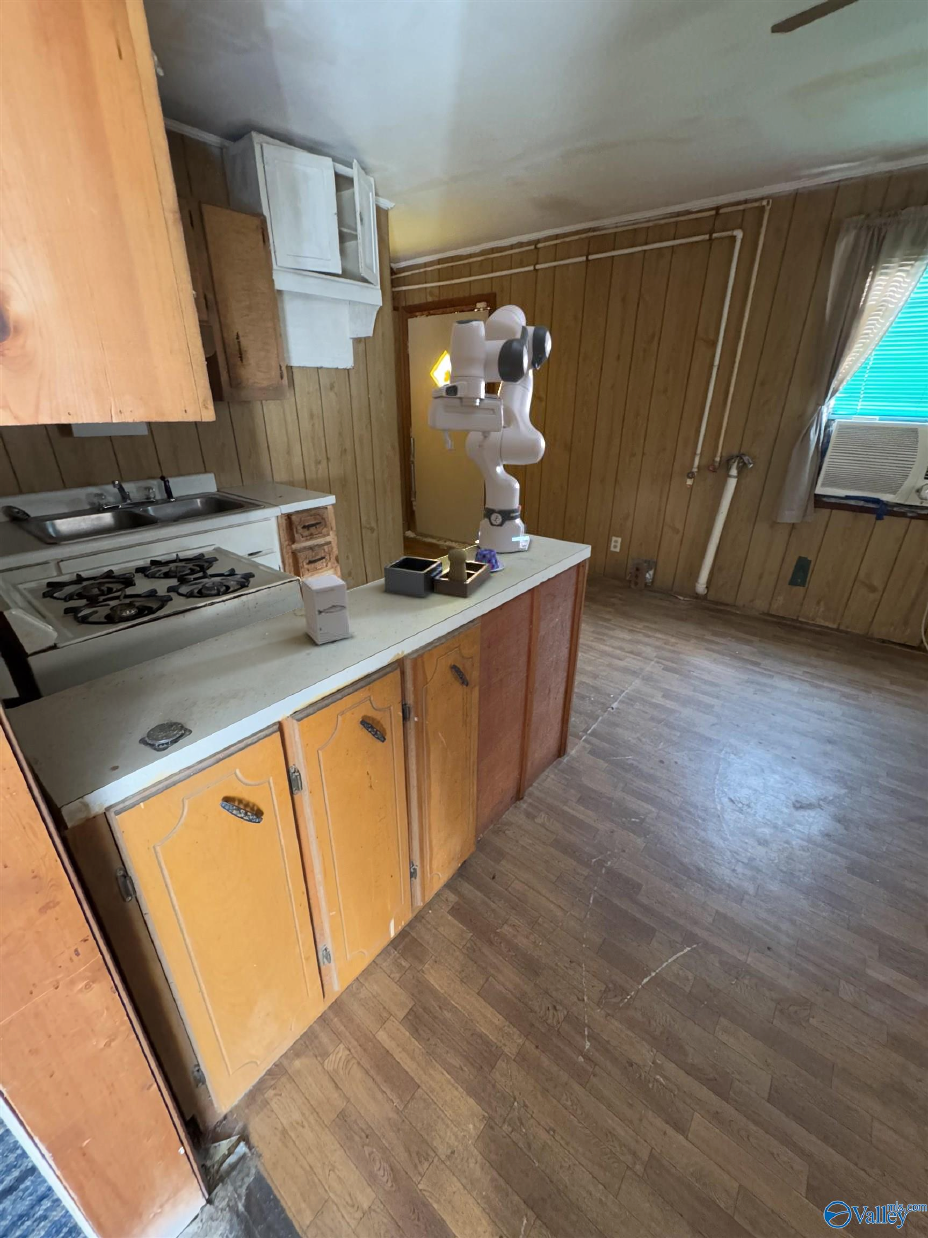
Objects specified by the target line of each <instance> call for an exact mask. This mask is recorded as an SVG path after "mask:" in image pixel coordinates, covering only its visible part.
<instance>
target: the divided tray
mask: <svg viewBox="0 0 928 1238" xmlns="http://www.w3.org/2000/svg"><path fill="white" fill-rule="evenodd" d="M472 561H473V560H467V561H466V562H465V565H466V573H467V581H466V582H464V581H457V580H451V579H448V574H449V567H448V568H446V569H445V570H444V571H442V573H441V574H439V575H438V576H437V577H435V578H434V591H433V593H436V594H441V595H442V594H443V595H448V596H454V597H461V598H469V597H470V596H471V595H472V594H473V593H474V592H475V591H476V590H478V589H479V588H480V587H481V586H482V585H483V584H485V582H486V581H488V580H489V579H490V578H491V572H492V571H491V564H487V563H480V562H472Z"/></svg>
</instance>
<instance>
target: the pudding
mask: <svg viewBox="0 0 928 1238" xmlns="http://www.w3.org/2000/svg"><path fill="white" fill-rule="evenodd" d="M471 561H472V562H480V563H487V564H491V572H495V571H500V570H503V569H505V567H506V566H507V565H506V563H505V562H503V561H501V560H498V555H497V552H495V550H492V549H482V548H479V549H478V550H477V551H476V552H475V556H474V559H473V560H471Z"/></svg>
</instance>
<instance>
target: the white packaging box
mask: <svg viewBox="0 0 928 1238" xmlns="http://www.w3.org/2000/svg"><path fill="white" fill-rule="evenodd" d="M300 583H301V584H300V585H301V591H302V599H303V608H304V615H305V623H306V631H307V634H308V635H309V636H310V637H311V639H312V640H313V641H314V642H315V643H316V644H317V645H323V644H325V643H326V644H327V643H329V642H334V641H338V640H343V639H348V638H351V628H350V618H349V608H348V607H349V606H348V595H347V583H346V582H345V581H344V580H342V579H340V577H338V576H337V575H336V574H335V573H333V574H327V575H322V576H317V577H309V578H304V579H301V580H300Z"/></svg>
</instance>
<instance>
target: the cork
mask: <svg viewBox="0 0 928 1238" xmlns="http://www.w3.org/2000/svg"><path fill="white" fill-rule="evenodd" d="M447 560H448V562H449V567H448V568H449V574H448V579H451V580H457V581H464V582H466V581H467V573H466V565H465V562H466V561H468V552H467V551H466V550H465V549H462V548H454V549H451V550H449V552H448V554H447Z"/></svg>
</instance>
